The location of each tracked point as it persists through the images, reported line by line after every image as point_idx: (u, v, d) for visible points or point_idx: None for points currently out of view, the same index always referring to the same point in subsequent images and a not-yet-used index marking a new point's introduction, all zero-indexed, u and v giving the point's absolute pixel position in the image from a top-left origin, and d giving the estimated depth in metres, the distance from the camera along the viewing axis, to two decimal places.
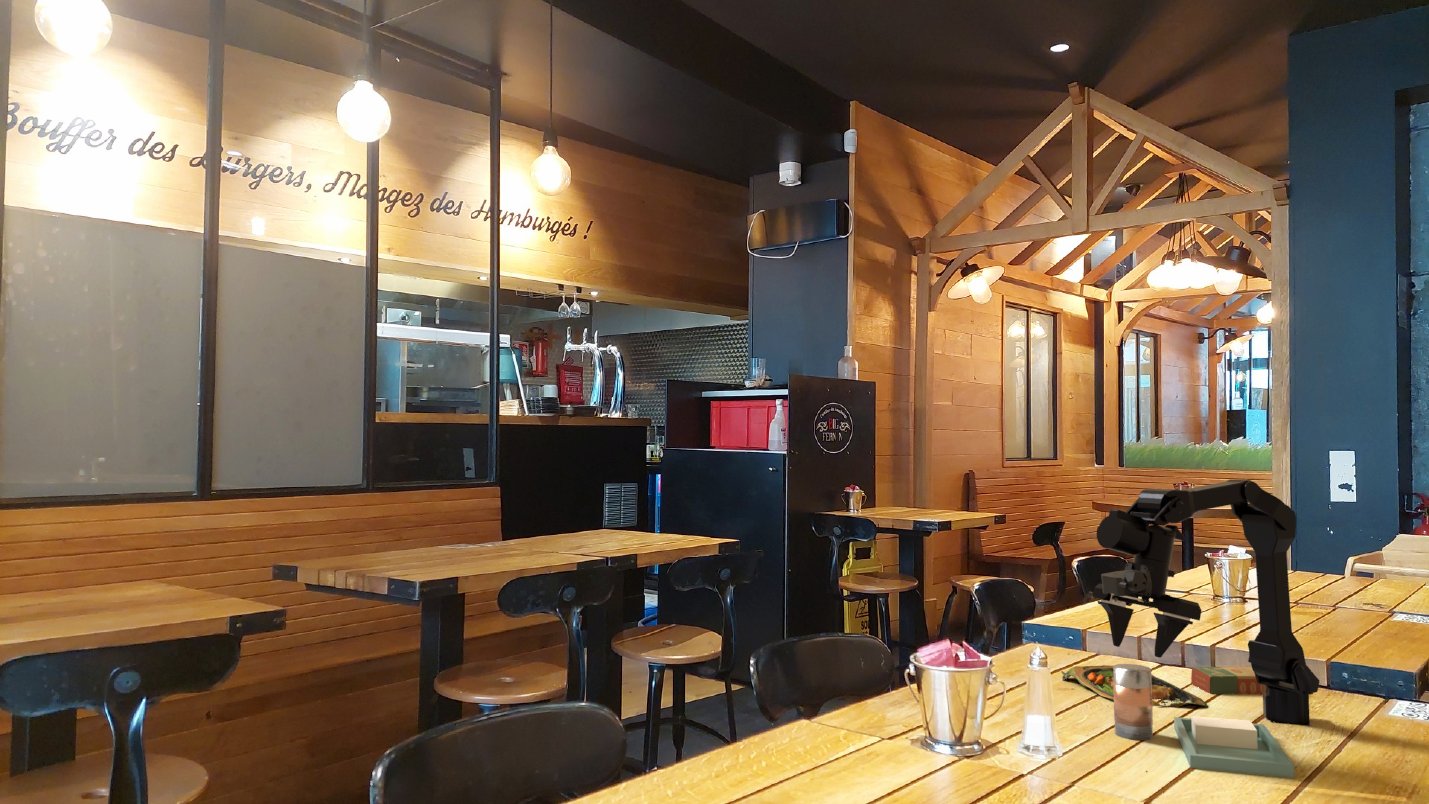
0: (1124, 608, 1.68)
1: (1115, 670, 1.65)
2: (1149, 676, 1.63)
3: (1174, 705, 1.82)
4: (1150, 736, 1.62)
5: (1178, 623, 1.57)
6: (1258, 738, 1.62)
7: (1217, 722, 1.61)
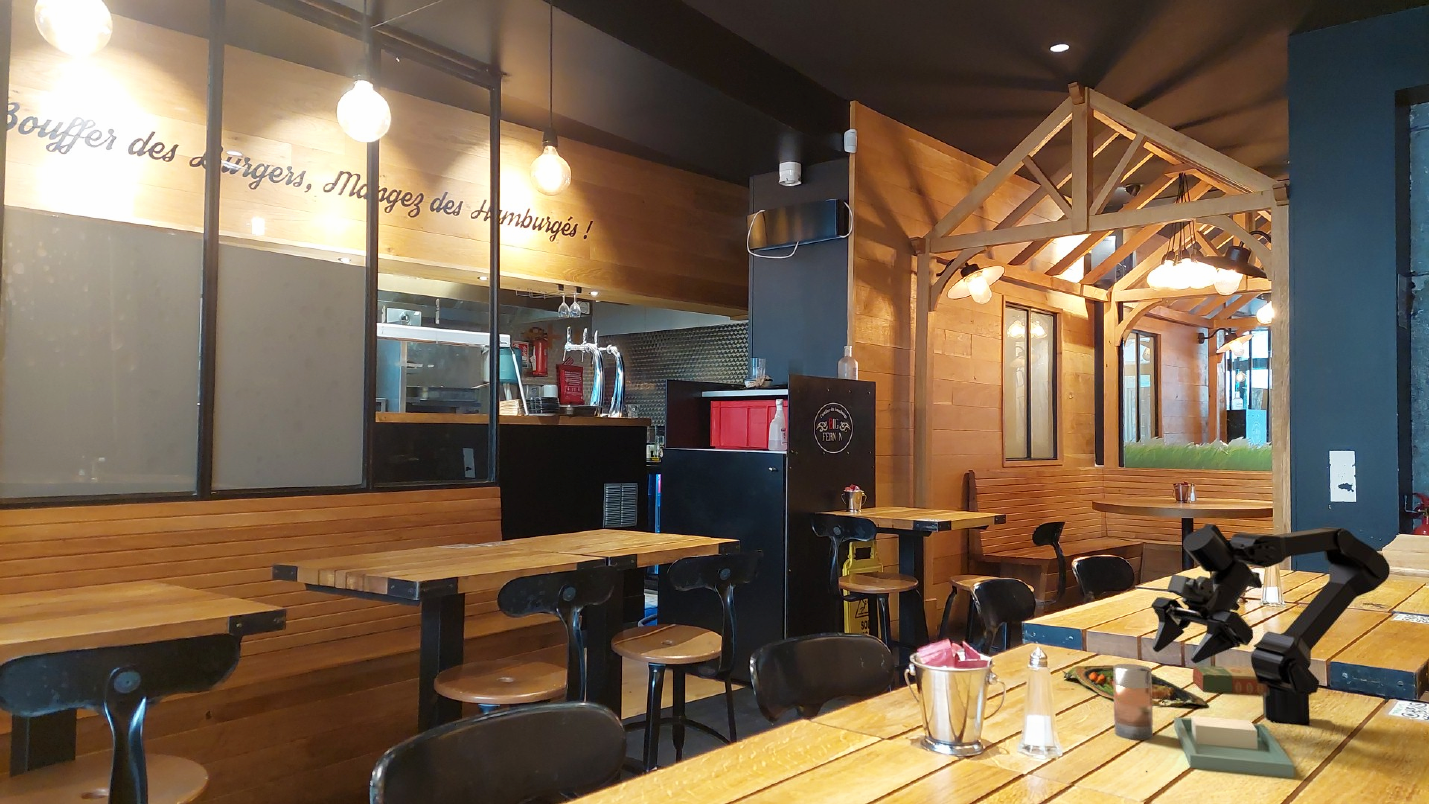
0: (1176, 625, 1.74)
1: (1115, 670, 1.65)
2: (1149, 676, 1.63)
3: (1174, 705, 1.82)
4: (1150, 736, 1.62)
5: (1225, 641, 1.63)
6: (1258, 738, 1.62)
7: (1217, 722, 1.61)
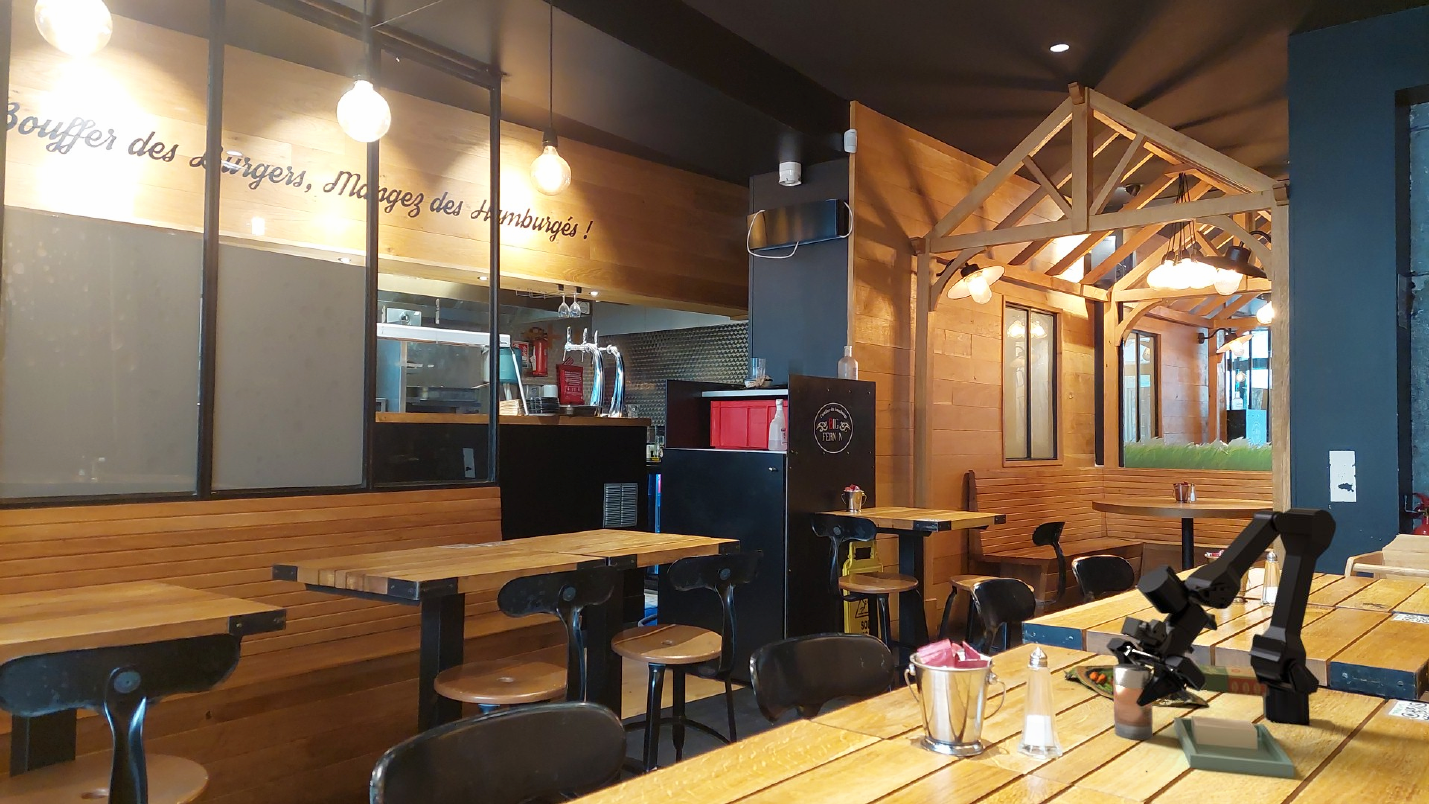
0: None
1: (1115, 670, 1.65)
2: (1149, 676, 1.63)
3: (1174, 704, 1.82)
4: (1150, 736, 1.62)
5: (1172, 684, 1.61)
6: (1258, 738, 1.62)
7: (1217, 722, 1.61)
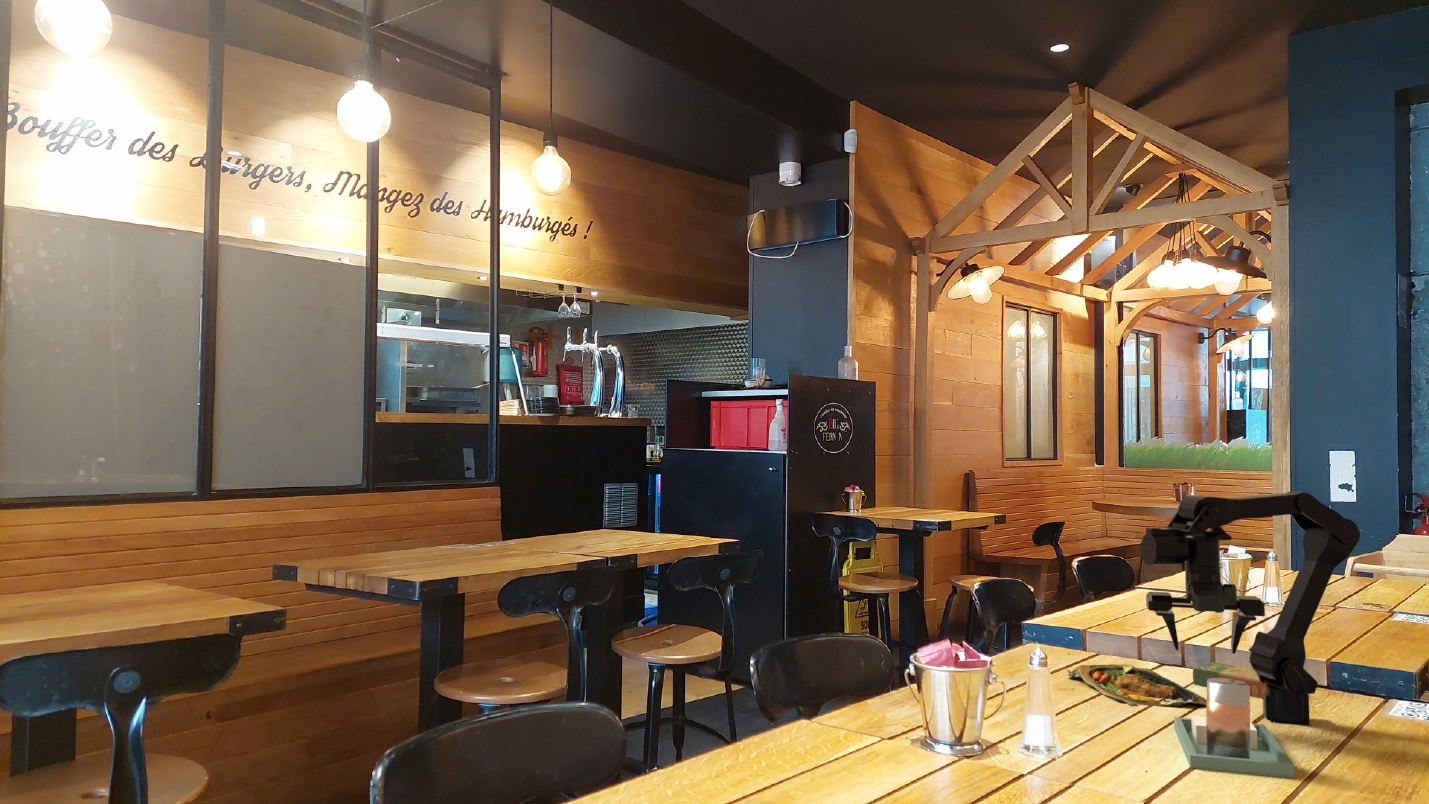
0: None
1: (1218, 687, 1.50)
2: None
3: (1174, 704, 1.83)
4: None
5: None
6: (1258, 738, 1.62)
7: None
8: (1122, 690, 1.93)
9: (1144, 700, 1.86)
